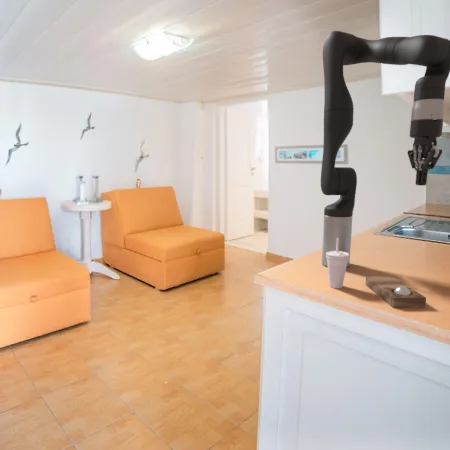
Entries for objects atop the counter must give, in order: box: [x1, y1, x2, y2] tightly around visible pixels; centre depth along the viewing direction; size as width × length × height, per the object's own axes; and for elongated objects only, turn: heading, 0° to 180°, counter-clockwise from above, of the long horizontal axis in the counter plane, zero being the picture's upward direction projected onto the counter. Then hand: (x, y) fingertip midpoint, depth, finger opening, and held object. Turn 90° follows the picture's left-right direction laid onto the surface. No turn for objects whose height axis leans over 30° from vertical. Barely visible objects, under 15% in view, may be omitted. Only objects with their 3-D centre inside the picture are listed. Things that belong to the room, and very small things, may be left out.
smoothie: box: [326, 238, 349, 289], centre depth 106 cm, size 6×6×14 cm
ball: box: [394, 286, 411, 296], centre depth 95 cm, size 4×4×4 cm
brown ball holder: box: [364, 275, 427, 309], centre depth 100 cm, size 17×8×2 cm, turn 2°
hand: (420, 185), depth 101 cm, fingers closed
